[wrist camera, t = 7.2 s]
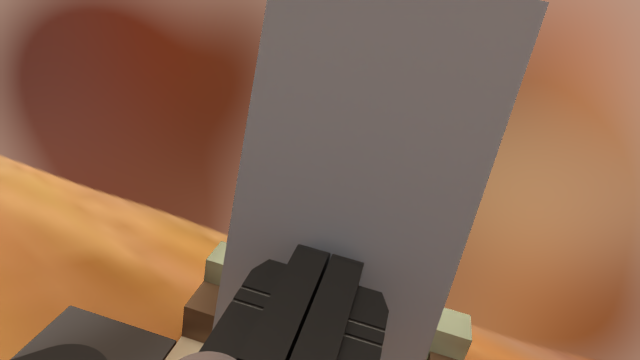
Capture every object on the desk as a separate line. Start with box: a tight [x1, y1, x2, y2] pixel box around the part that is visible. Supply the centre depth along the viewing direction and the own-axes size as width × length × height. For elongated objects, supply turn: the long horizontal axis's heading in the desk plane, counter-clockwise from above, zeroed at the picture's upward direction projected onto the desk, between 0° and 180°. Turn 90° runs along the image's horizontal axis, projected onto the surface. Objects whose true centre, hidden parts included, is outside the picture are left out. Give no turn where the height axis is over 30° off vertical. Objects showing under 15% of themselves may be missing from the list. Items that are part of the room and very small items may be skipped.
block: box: [212, 0, 549, 360], centre depth 14 cm, size 5×6×13 cm
